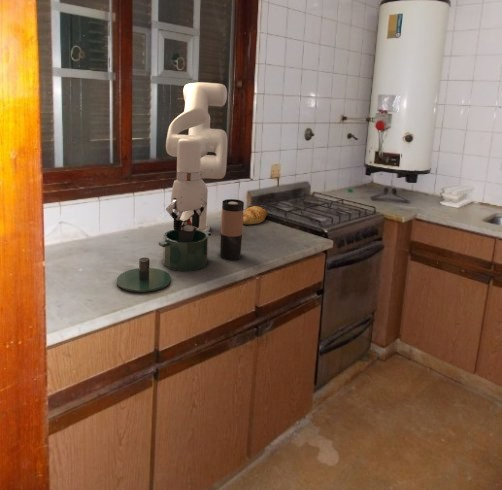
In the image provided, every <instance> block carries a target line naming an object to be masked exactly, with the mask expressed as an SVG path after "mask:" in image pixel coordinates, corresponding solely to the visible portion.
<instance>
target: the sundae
mask: <svg viewBox="0 0 502 490" xmlns="http://www.w3.org/2000/svg"><path fill="white" fill-rule="evenodd" d="M191 217H192V215H191V216H190V217H189V219H187V220H185V221H182V220H181V232H179V240H180V242H192V241H193V235H194V232H195V230H197V228H195V227H193V225H192V223H191V221H190V218H191Z"/></svg>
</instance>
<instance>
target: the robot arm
mask: <svg viewBox="0 0 502 490" xmlns="http://www.w3.org/2000/svg"><path fill="white" fill-rule="evenodd" d="M182 90H183V91H182V94H183V99H184V110H183V112H182V113H180V114H179V115H178V116H177V117H175V118H174V119H173V120H172V121H171V123H170V124H169V126H168V129H167V135H166V141H165V150H166V154H167V155H169V156H170V157H176V179H174V181H173V184H172V189H171V196H170V203H169V205H168V206H167V207H166V209H165V212H167V214H169V216H170V217H171V218H172V219H173V225H172V227H173V230H176V231H178V232H181V220H182V221H185V220H187V219H189V217H190V216H191V215H192V217H191V218H190V221H191V223H192V225H193V227H195V228H197V230H201V231H203V232H206V231H208V232H210V229H211V227H210V225H208V224H207V215H208V194H209V193H208V192H209V189H208V186H207V184H206V182H205V181H204V179H212V180H213V179H215V180H220V179H221V180H222V179H223V178H224V177H225V176H226V173H227V164H228V163H227V162H228V161H227V160H228V135H227V132H226V131H225V130H224V129H221V128H211V116H210V113H209V106H210V107H220V108H221V107H224V106H225V104H226V102H227V99H228V89H227V87H226V85H225V84H223V83H216V82H203V81H200V82H190V83H189V82H188V83H187V84H185V85H184V87H183V89H182ZM186 130H188V134H180V133H182V132H183V131H186ZM208 153H214V154H208Z"/></svg>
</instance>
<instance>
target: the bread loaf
mask: <svg viewBox="0 0 502 490" xmlns="http://www.w3.org/2000/svg"><path fill="white" fill-rule="evenodd" d="M267 215H268V211H267V209H264V208H263V207H262V206H258V205H253V206H249V207H247V208H246V209H245V210H244V211H243V225H255V224H256V225H257V224H261V223H263V222H264V221H265V220H266V217H267Z"/></svg>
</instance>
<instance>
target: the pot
mask: <svg viewBox="0 0 502 490" xmlns="http://www.w3.org/2000/svg"><path fill="white" fill-rule="evenodd" d="M211 236H212V232H210V231H206V232H203V231H201V230H195V232H194V235H193V241H192V242H180V240H179V232H178V231H176V230H174V229H171V230H168V231H166V232H165V233H164V234H163V239H162V240H163V241H159V242H158V247H161V248H162V263H163V265H164V266H165V267H166V268H168V269H170V270H174V271H179V272H191V271H196V270H200V269H203V268H205V267H206V266H207V264H208V257H209V256H208V254H209V237H211Z"/></svg>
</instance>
